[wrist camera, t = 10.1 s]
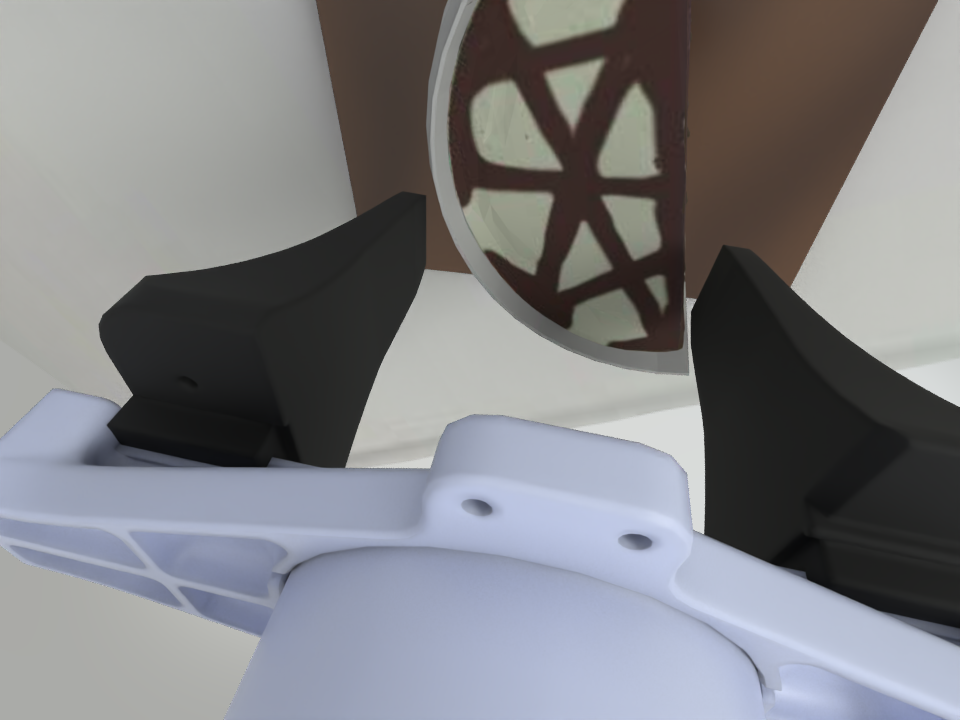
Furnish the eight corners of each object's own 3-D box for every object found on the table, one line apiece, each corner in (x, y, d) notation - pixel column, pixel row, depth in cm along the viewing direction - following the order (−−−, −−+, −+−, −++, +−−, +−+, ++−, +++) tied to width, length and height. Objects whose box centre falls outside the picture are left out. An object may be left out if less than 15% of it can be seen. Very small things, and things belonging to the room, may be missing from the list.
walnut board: (371, 254, 27) (365, 262, 26) (247, -427, 13) (231, -439, 12) (776, 297, 24) (779, 308, 24) (1181, -510, 10) (1214, -532, 10)
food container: (457, -157, 15) (295, -122, 8) (686, -242, 13) (712, -287, 6) (533, 219, 23) (482, 386, 17) (680, 204, 21) (688, 388, 14)
